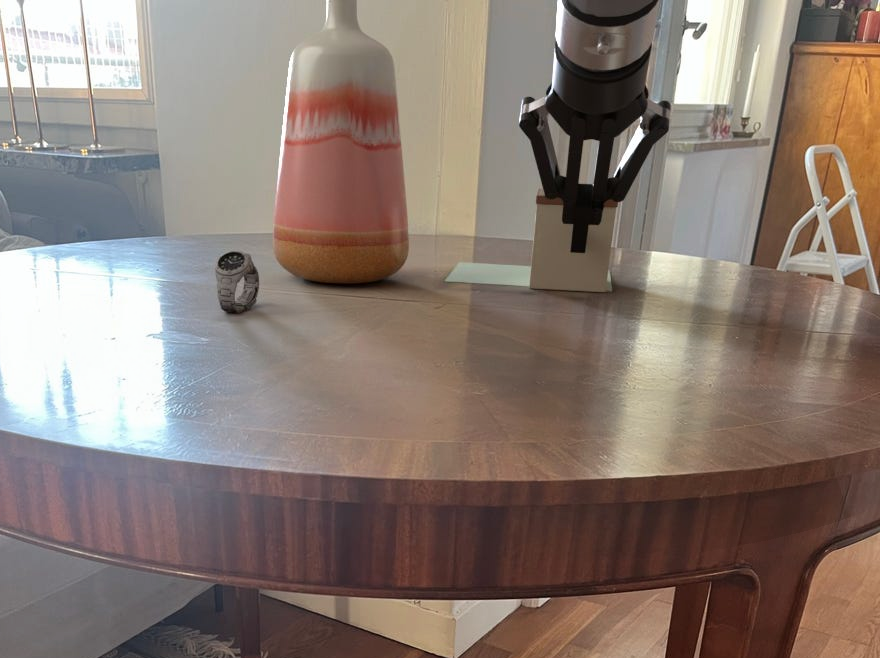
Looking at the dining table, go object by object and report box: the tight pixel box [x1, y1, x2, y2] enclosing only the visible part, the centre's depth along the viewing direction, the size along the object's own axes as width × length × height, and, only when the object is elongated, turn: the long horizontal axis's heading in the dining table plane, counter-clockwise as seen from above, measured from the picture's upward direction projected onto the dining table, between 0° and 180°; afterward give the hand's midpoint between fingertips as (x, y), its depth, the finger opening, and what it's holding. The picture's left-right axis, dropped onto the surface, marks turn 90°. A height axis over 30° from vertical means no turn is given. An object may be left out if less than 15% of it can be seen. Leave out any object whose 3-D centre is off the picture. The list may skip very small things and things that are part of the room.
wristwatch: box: [214, 250, 260, 314], centre depth 86 cm, size 4×6×5 cm, turn 164°
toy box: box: [528, 188, 619, 294], centre depth 101 cm, size 8×8×9 cm
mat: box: [443, 261, 613, 293], centre depth 108 cm, size 18×14×1 cm
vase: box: [272, 0, 410, 285], centre depth 96 cm, size 14×14×30 cm
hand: (578, 241), depth 97 cm, fingers closed
